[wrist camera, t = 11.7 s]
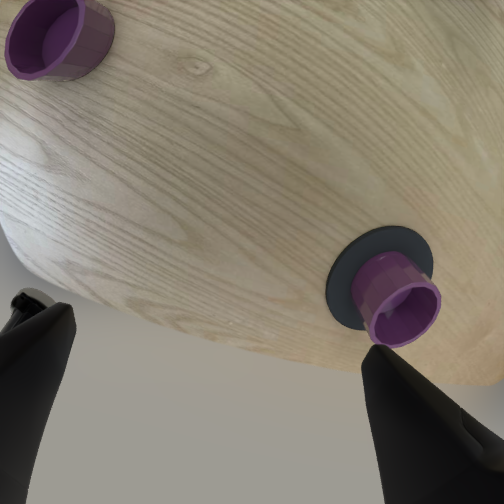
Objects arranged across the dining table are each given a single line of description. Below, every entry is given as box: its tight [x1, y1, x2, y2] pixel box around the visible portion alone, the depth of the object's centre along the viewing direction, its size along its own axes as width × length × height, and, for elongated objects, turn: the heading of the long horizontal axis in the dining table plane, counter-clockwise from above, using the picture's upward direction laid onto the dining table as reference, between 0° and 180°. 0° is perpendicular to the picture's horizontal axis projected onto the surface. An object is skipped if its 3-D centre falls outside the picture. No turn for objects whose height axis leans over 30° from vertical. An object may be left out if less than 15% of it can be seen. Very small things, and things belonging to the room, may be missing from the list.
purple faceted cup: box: [4, 0, 115, 81], centre depth 11 cm, size 6×6×4 cm
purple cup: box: [351, 251, 441, 349], centre depth 21 cm, size 6×6×4 cm
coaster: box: [326, 226, 433, 331], centre depth 23 cm, size 10×10×1 cm
